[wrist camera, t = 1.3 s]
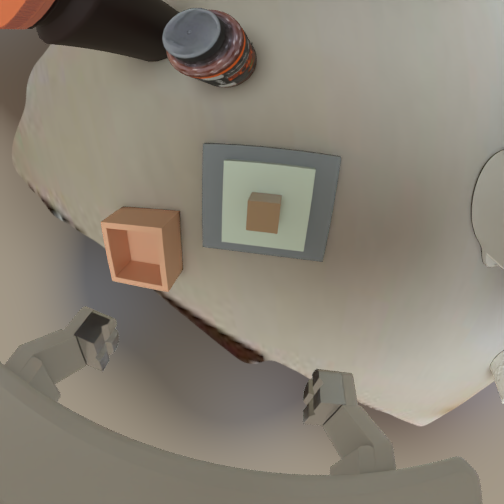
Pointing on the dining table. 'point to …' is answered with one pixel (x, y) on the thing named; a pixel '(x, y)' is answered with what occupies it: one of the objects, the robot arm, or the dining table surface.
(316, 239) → the mat
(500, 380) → the white cup
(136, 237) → the peach storage bin
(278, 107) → the dining table surface
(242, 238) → the lid
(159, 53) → the vinegar
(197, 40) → the supplement bottle
